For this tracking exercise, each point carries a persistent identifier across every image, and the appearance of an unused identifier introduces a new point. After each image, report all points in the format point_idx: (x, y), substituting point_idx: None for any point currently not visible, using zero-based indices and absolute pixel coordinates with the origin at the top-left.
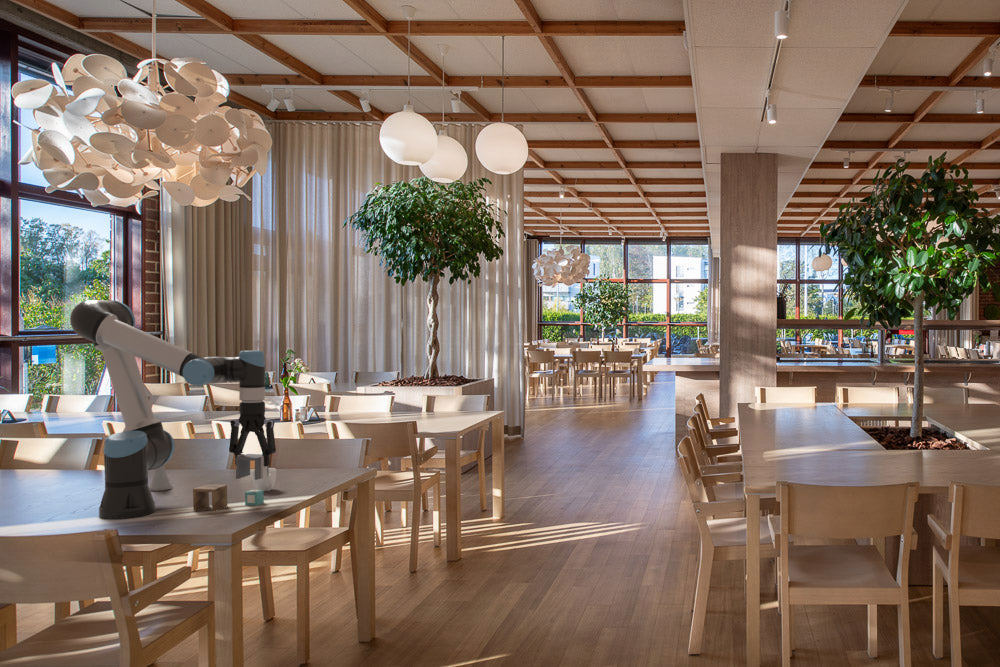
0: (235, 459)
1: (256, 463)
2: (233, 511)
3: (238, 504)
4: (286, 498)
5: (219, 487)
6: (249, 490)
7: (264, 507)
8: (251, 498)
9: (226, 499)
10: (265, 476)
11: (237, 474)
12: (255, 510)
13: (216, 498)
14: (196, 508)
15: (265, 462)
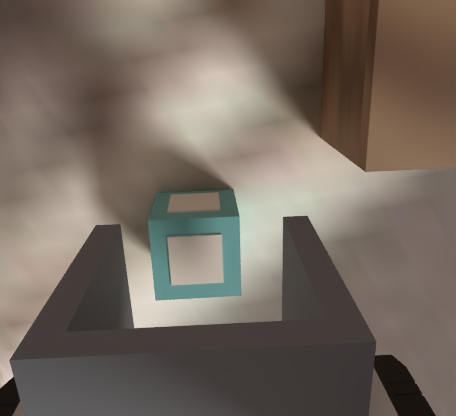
0: (422, 400)
1: (51, 311)
2: (201, 5)
3: (281, 195)
4: None
5: (375, 52)
6: (240, 271)
7: (78, 152)
8: (190, 202)
9: (332, 136)
10: None
11: (299, 231)
12: (77, 61)
13: (350, 1)
14: None
15: (13, 408)
